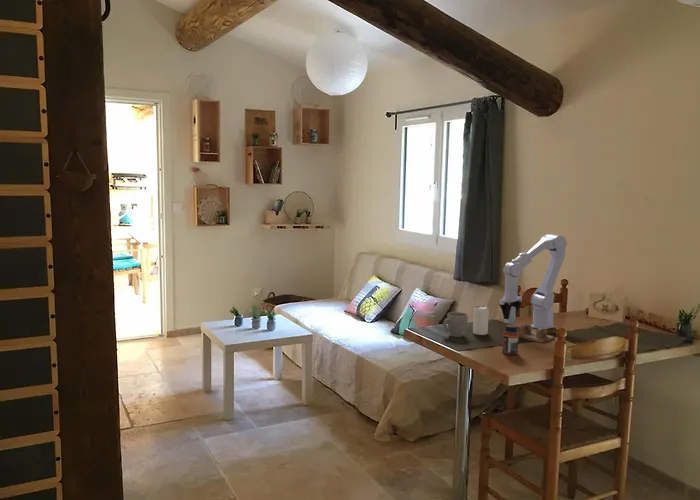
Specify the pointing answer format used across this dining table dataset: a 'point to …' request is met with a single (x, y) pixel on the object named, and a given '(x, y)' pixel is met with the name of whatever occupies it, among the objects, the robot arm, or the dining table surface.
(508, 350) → the supplement bottle
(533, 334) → the holder
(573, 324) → the dining table surface
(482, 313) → the can
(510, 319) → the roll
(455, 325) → the mug
